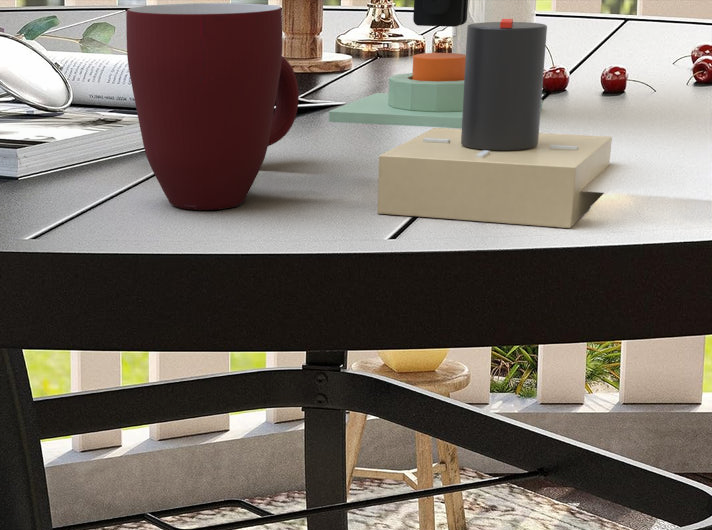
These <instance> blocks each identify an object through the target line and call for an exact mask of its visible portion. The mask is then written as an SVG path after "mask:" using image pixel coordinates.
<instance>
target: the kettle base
mask: <svg viewBox="0 0 712 530" xmlns="http://www.w3.org/2000/svg"><path fill="white" fill-rule="evenodd" d="M463 96H464V80H461V81H419V80H412V72H409V73H398V74H394V75H392V76H389V77H388V92H375V93H373V94H370V95H368V96H365V97H363V98H360V99H357V100H355V101H352V102H349V103H347V104H345V105H344V104H343V105H342V106H339V107H336V108H334V109H331V110H329V111H328V122H329V123H330V122H331V123H346V124H347V123H351V124H366V125H367V124H368V125H369V124H371V125H388V126H389V125H390V126H409V127H410V126H411V127H426V128H449V129H462V114H463ZM543 104H544V100H543V99H541V111H542V110H543Z"/></svg>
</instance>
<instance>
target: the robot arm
mask: <svg viewBox="0 0 712 530" xmlns="http://www.w3.org/2000/svg"><path fill="white" fill-rule="evenodd" d="M468 9H469V0H413V16H412V21H413V24H414V25H416V26H419V27H448V28H449V27H452V28H455V27H458V26H462V25H464V24H466V23H467V20H468Z"/></svg>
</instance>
